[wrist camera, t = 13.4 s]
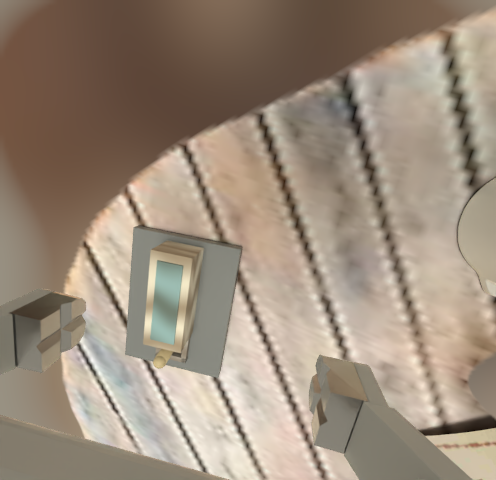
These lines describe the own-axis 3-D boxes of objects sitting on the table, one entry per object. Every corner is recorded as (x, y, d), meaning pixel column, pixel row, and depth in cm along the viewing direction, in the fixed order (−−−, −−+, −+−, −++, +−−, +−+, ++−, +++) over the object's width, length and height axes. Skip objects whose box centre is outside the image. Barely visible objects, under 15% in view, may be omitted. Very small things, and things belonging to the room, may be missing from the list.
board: (242, 246, 38) (233, 263, 31) (220, 371, 44) (208, 409, 37) (139, 225, 40) (107, 236, 33) (130, 349, 45) (101, 381, 38)
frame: (167, 240, 38) (150, 250, 33) (204, 247, 38) (191, 259, 33) (156, 351, 43) (139, 374, 38) (188, 359, 42) (176, 383, 37)
